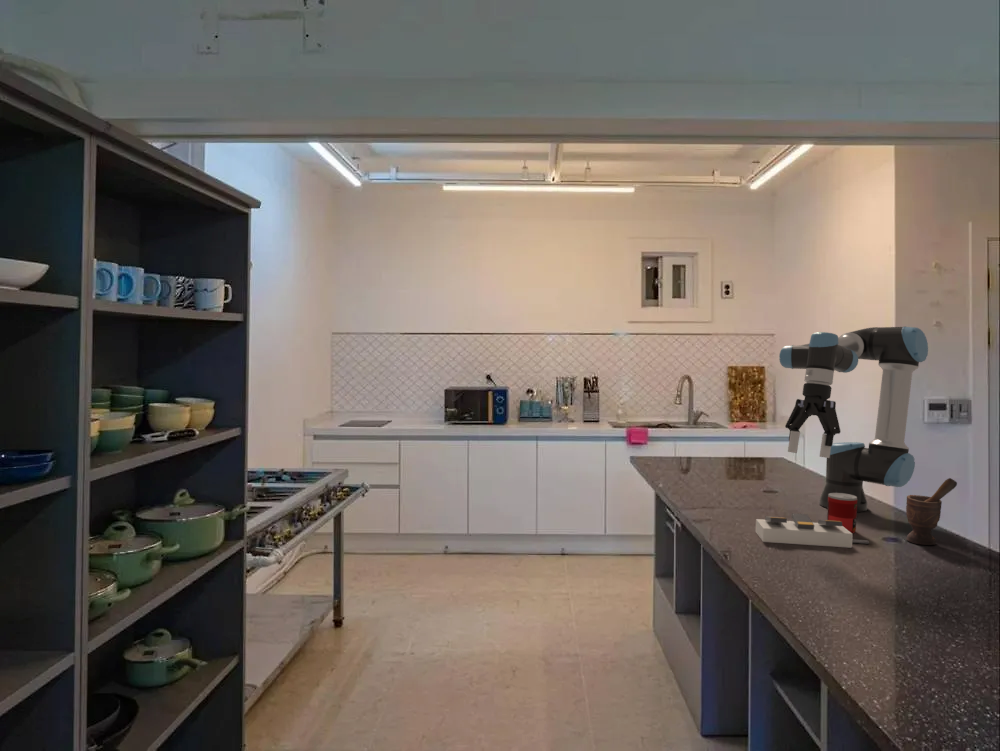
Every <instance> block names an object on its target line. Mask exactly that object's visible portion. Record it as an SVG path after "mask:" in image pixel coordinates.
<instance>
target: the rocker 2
mask: <svg viewBox="0 0 1000 751" xmlns="http://www.w3.org/2000/svg"><path fill="white" fill-rule="evenodd" d="M817 523H818V524H822V525H830V526H842V522H841V521H834V520H827V519H818V520H817Z"/></svg>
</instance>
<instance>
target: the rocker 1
mask: <svg viewBox="0 0 1000 751" xmlns="http://www.w3.org/2000/svg"><path fill="white" fill-rule="evenodd" d="M764 520H766V521H770V522H782V523H787V521H788V520H787V517H782V516H780V517H779V516H765V517H764Z"/></svg>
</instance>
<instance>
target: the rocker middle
mask: <svg viewBox="0 0 1000 751" xmlns="http://www.w3.org/2000/svg"><path fill="white" fill-rule="evenodd" d="M791 519H792V521H794V522H795V524H796V526H797V528H802V529H814V524H813V523H814V521H812V520H811V518H810V516H809V515H808V513H806V514H805V513H795V512H793V513H791Z"/></svg>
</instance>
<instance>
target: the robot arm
mask: <svg viewBox="0 0 1000 751" xmlns="http://www.w3.org/2000/svg"><path fill="white" fill-rule="evenodd" d="M928 354H929V343H928V340H927V337H926V334H925V333H924V331H923V330H922V329H921V328H919V327H915V326H914V327H913V326H888V327H887V326H885V327H883V326H882V327H878V326H877V327H875V326H874V327H866V328H863V329H857V330H854V331H849V332H845V333H843V334H841V335H839V336H838V335H837V334H836V333H833V332H827V331H818V332H813V333H812V334H811V335H810V339H809V343H806V344H801V345H794V344H793V345H785V346H783V347H782V348H781V350H780V352H779V363H780V365H781V366H782V368H785V369H792V370H794V369H796V370H797V369H798V370H805V374H804V382H805V383H804V384H803V386H802V395H803V396H804V399H800V398H797V399H796V401H795V405H794V407H793V409H792V411H791V413H790V415H789V417H788V419H787V421H786V423H785V428H786V429H787V430H789V437H788V441H789V442H788V447H787V452H788V453H793V454H794V453H795V454H798V449H799V440H800V434H801V432H800V429H801V428H802V426H803V425H804V424H805V422H806V421H807V420H808V418H809V417H811V416H817V418H818V420H819V422H820V425H821V427H822V429H823V433H822V436H821V443H820V451H819V457H821V458H825V459H826V466H825V484H824V486H823V489H822V491H821V494H820V496H819V502H818V503H819V505H820V506H822V507H824V508H825V509H826V508H827V509H828V494H830V493H845V494H850V495H854V496H856V497H857V512H858V513H860V512H866V511H867V510H868V501H867V497H866V494H865V491H864V486H863V483H864V482H865V483H872V484H877V485H882V486H885V487H896V488H901V487H904V486H906V485H907V484H908V482H909V481H910V480H911V478H913V474H914V471H915V467H916V466H915V465H916V461H915V456H914V455H912V454H911V453H909V450H910V448H909V447H908V445H907V444H906V443H905V437H906V428H907V423H908V422H907V420H908V414H909V413H908V412H909V411H908V410H909V404H910V403H909V402H910V396H911V387H912V380H913V379H912V378H913V373H914V372H915V371H917V369H918V368H919V366H920V365H919V363H923V362H925V361H926V360H927V358H928V356H929V355H928ZM859 360H867V361H878V366H879V367H880V368H881V369H882V375H881V376H882V377H881V383H880V393H879V399H878V400H879V401H878V408H877V409H878V410H877V417H876V425H875V433H874V435H875V436H874V439H873V440H871V441H870V442H869V443H868V447H866V445H865V443H864V442H857V441H856V442H855V441H854V442H834V437H835V435H837V434H838V435H840V433H841V428H840V423H839V419H838V418H839V417H838V414H837V410H836V401H834V400H830V399H831V395H832V386H831V385H833V382H834V381H833V380H834V376H835V375H834V373H835V372H837V373H844V374H845V373H846V374H847V373H850V372H853V371H854V370H856V368H857V366H858V364H859ZM834 371H835V372H834ZM828 399H829V400H828Z"/></svg>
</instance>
